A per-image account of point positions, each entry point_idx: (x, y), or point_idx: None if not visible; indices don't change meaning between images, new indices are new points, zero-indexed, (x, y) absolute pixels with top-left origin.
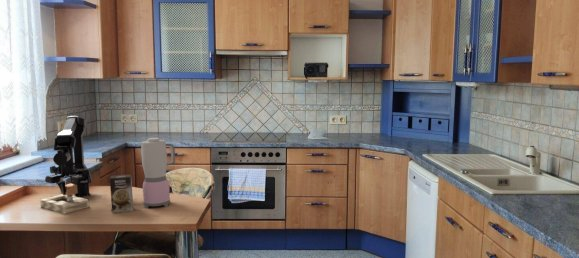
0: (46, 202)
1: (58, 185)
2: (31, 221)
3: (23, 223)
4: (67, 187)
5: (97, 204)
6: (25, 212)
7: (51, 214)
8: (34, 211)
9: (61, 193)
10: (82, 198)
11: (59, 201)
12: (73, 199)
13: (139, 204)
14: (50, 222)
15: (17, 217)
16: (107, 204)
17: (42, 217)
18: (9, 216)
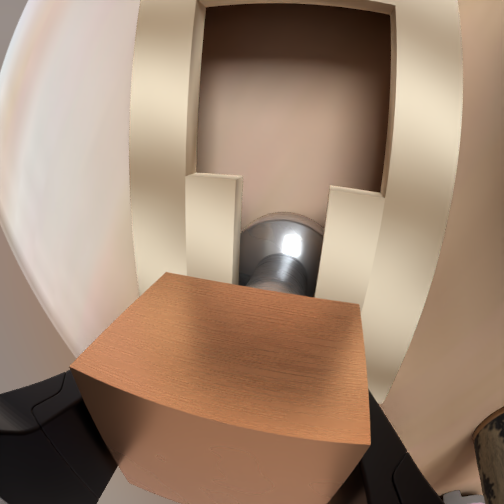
0: (140, 53)
1: (15, 401)
2: (30, 255)
3: (10, 245)
4: (141, 483)
5: (441, 365)
6: (65, 40)
7: (119, 250)
8: (95, 61)
9: (161, 278)
10: (406, 336)
11: (203, 187)
12: (343, 277)
13: (446, 485)
14: (81, 353)
15: (15, 115)
16: (445, 410)
17: (71, 250)
18: (11, 61)
